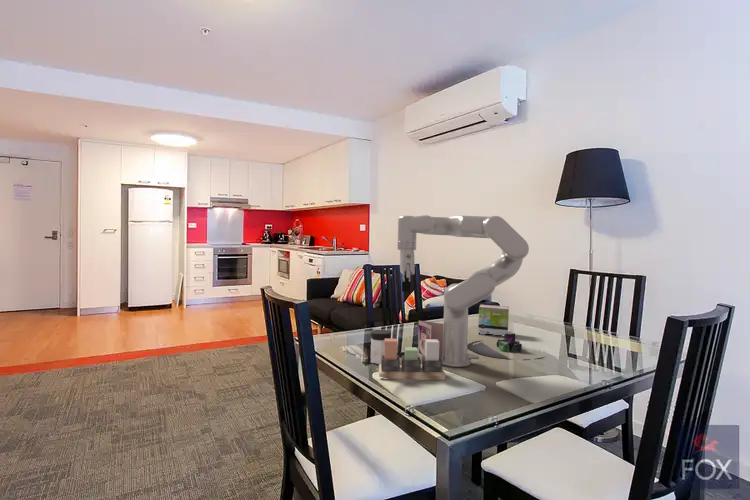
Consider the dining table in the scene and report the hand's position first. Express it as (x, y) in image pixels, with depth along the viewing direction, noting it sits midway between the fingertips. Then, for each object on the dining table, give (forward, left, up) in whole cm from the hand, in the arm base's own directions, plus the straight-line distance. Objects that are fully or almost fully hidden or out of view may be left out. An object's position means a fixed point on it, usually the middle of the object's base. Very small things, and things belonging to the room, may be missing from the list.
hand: (405, 291), depth 173 cm
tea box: (-51, -52, -28) cm, 78 cm away
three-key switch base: (-1, +19, -28) cm, 34 cm away
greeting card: (-11, -3, -28) cm, 30 cm away
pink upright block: (+7, +19, -22) cm, 30 cm away
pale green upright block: (-1, +19, -25) cm, 32 cm away
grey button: (-8, +19, -22) cm, 31 cm away
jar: (+10, +3, -28) cm, 30 cm away
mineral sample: (-48, -20, -29) cm, 59 cm away
